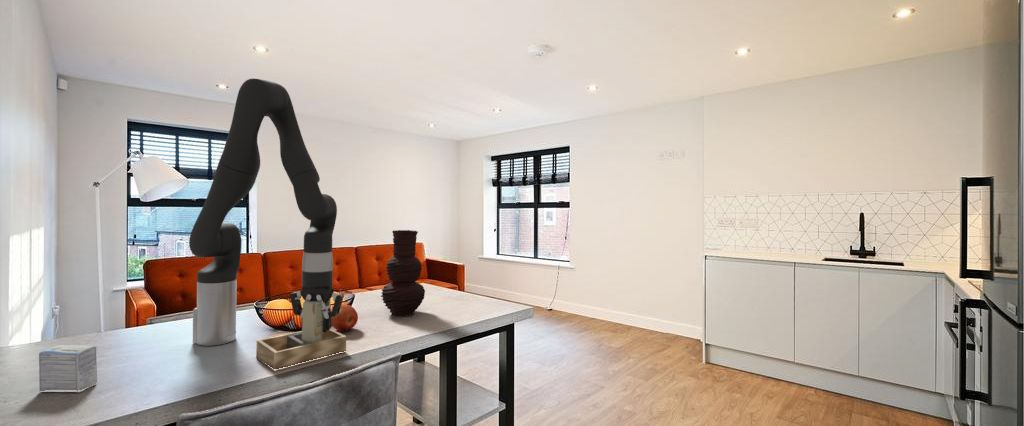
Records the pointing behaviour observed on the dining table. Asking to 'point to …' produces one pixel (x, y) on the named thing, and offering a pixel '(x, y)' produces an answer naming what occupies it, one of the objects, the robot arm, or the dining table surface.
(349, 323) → the apple
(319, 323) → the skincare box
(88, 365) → the grey striped block
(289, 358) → the walled box
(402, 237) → the vase
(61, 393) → the dining table surface
